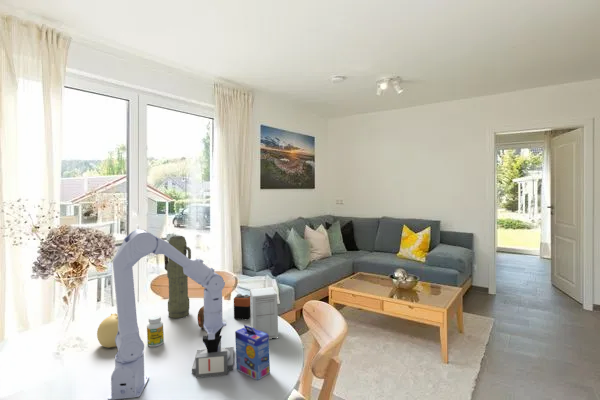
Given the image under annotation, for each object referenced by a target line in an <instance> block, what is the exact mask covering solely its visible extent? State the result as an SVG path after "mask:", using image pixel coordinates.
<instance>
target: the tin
mask: <svg viewBox="0 0 600 400" xmlns="http://www.w3.org/2000/svg"><path fill="white" fill-rule="evenodd" d="M197 326H198V327H199V328H201V329H204V305H203V306H201V307H200V309H199V310H198V312H197Z"/></svg>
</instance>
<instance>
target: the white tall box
mask: <svg viewBox="0 0 600 400" xmlns="http://www.w3.org/2000/svg"><path fill="white" fill-rule="evenodd" d="M249 294H250V295H249V296H250V309H251V317H250V327H252V328H255V330H259V331H262V332H265V333H267V334H268V335H269V340H273V339H272V338H276V339H278V338H279V317H278V315H279V313H278V293H277V291H276V290H275V289H274V287H273V286H271V287H262V288H251V289H249ZM277 337H278V338H277Z"/></svg>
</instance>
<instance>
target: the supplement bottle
mask: <svg viewBox="0 0 600 400" xmlns="http://www.w3.org/2000/svg"><path fill="white" fill-rule="evenodd" d="M161 320H162V317H161V315H152V316H150V317H148V324H147V326H146V333H147V334H146V336H147V337H146V338H147V339H146V340H147V346H148V347H152V348H155V347H159V346H161V345H163V343H164V341H165V339H164V323H163V321H161Z"/></svg>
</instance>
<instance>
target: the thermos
mask: <svg viewBox="0 0 600 400" xmlns="http://www.w3.org/2000/svg"><path fill="white" fill-rule="evenodd" d="M168 243H169V244H171V245H172V246H173V247H174V248H176V249H177V250H178V251H180V252H181V253H182V254H184V255H185V256H186V257H187V258H189V259H192V249H191V248H190V246H187V244H188V243H187V240H186V237H185V236H183V235H173V236H171V237H169V240H168ZM163 255H164V254H163ZM163 257H164V258H163V259H164V270H165V271H166V274H167V276H166V277H167V279H168V300H167V312H168V315H167V317H168V319H171V320H182V319H184V318H187V317H189V315H190V297H189V296H188V295H189V286H188V285H189V283H188V280H189V279H188V278H189V277H188V276H187V275H185V274H184V272H183V267H182V266H180V265H179V264H177V263H176V262H174V261H173V260H171V259H170V258H168V257H167V256H165V255H164V256H163Z"/></svg>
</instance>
